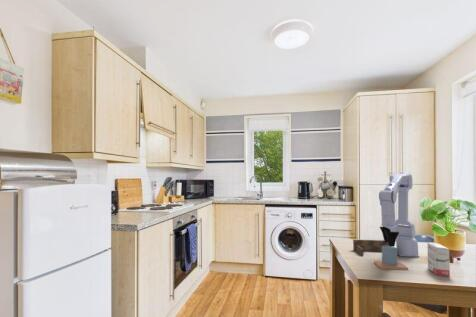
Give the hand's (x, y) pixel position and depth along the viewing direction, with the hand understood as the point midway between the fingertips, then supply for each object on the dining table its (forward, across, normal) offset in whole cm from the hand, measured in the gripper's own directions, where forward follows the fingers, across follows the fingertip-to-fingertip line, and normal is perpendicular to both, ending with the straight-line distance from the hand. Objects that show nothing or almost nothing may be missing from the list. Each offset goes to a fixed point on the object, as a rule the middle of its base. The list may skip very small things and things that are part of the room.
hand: (389, 243), depth 122 cm
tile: (+10, 0, 0) cm, 10 cm away
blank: (+9, 0, 0) cm, 9 cm away
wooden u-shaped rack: (+10, +19, +2) cm, 22 cm away
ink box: (+11, -2, -19) cm, 22 cm away
